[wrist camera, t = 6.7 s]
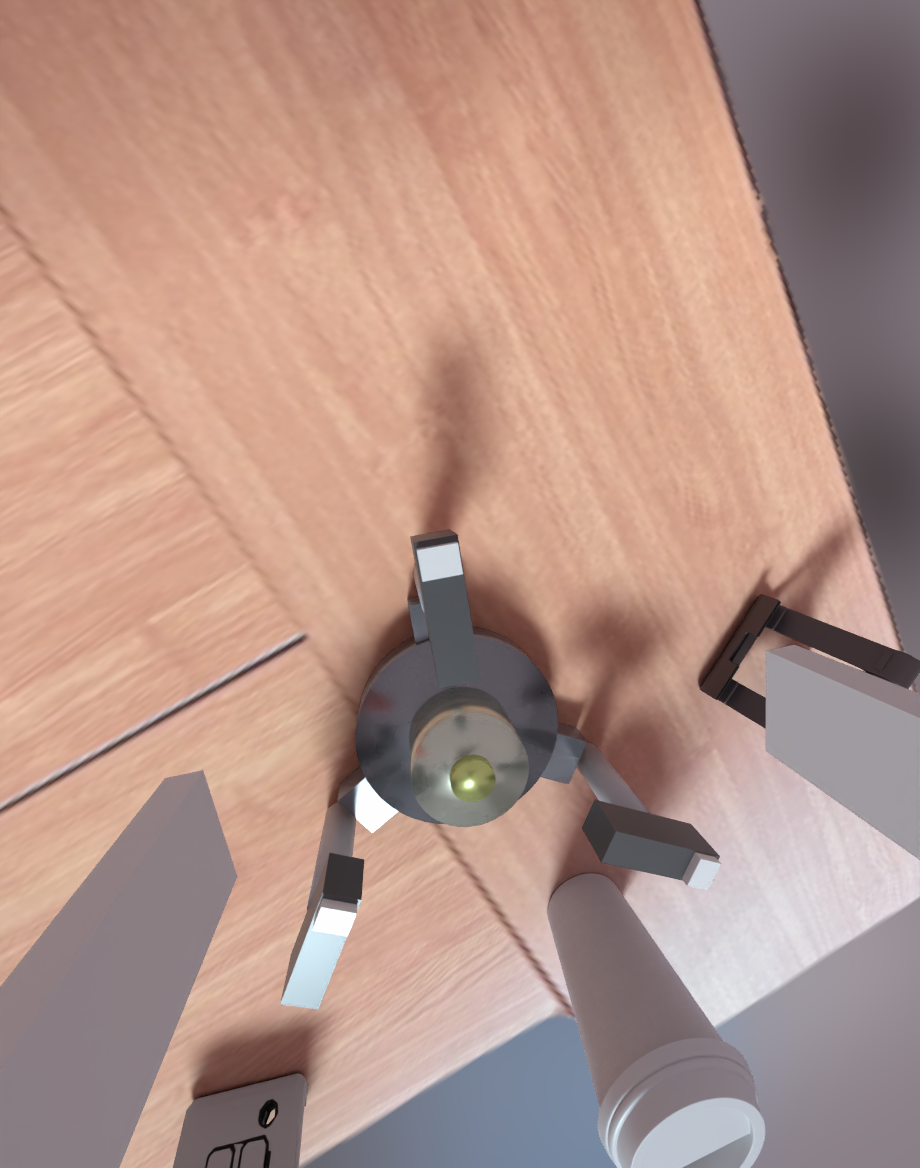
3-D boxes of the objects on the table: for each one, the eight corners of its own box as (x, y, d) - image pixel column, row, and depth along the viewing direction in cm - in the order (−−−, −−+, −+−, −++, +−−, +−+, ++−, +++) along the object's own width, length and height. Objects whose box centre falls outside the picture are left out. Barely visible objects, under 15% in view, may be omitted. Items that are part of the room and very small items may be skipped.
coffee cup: (526, 957, 39) (607, 1235, 24) (533, 862, 37) (624, 1103, 23) (629, 944, 40) (764, 1198, 26) (641, 851, 38) (793, 1071, 24)
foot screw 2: (541, 757, 35) (604, 871, 24) (551, 732, 34) (621, 836, 24) (618, 778, 36) (710, 894, 26) (629, 754, 36) (726, 862, 25)
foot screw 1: (340, 857, 34) (318, 1020, 23) (311, 851, 33) (275, 1014, 23) (371, 777, 33) (362, 909, 23) (342, 770, 32) (319, 901, 22)
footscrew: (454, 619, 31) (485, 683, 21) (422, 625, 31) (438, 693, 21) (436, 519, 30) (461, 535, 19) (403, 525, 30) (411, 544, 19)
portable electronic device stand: (755, 590, 35) (864, 619, 27) (823, 633, 37) (945, 673, 29) (693, 685, 36) (782, 742, 28) (763, 723, 38) (865, 787, 30)
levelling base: (351, 826, 34) (340, 921, 26) (299, 619, 30) (268, 661, 23) (581, 770, 36) (631, 843, 28) (558, 569, 32) (609, 593, 25)
